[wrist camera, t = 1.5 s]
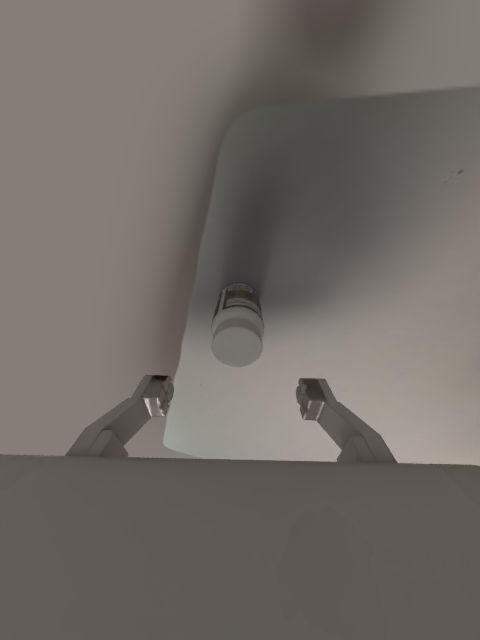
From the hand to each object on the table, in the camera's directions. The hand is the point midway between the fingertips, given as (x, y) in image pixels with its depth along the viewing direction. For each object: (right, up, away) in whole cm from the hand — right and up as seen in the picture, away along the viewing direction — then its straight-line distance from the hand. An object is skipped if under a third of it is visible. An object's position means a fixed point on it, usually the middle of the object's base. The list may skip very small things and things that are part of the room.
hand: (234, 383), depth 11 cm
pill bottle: (0, +6, +10) cm, 12 cm away
